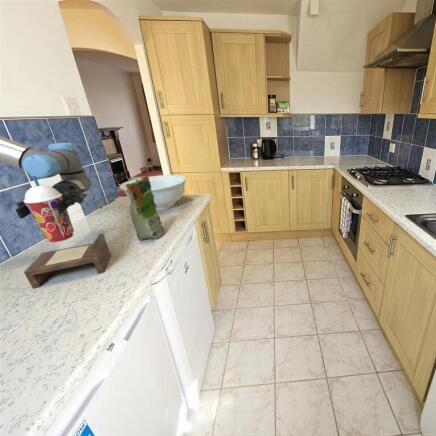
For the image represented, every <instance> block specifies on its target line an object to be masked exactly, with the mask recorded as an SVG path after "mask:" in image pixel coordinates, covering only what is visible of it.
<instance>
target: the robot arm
mask: <svg viewBox="0 0 436 436" xmlns="http://www.w3.org/2000/svg"><path fill="white" fill-rule="evenodd" d="M47 148H48V151H44V150H40V149H37V148H34V147H31V146H29V145H26V144H23V143H21V142H17V141H15V140H12V139H9V138H6V137H4V136H0V163H4V164H6V165H10V166H13V167H15V168H19V169H22V170H24V172H25V173H26V174H28V175H29V176H30V177H32V176H36V178H37V179H39V180H40V179H42V180H43V179H49V178H53V177H56V176H57V175H59V177H60V179H61V180H59V181H58V182H56V183H54V184H53V185H52V186H51V187H53V188H54V189H56V190H57V191H58V192H59V193H61V194H62V197H63V199H62V200H61V201H59V202H58V203H56V204H55V205H56V208H57V210H58V212H59V213H62V212H63V211H65V210H66V209H68V208H69V207H71V206H74V205H76V204H75V203H77V204H82V203H84V199H85V198H86V197H87V196H88V194H87V192H88V191H89V190H90V189H91V186H92V184H93V183H92V179H91V177H90V176H88V175H87V174H86V172H85V169H84V166H83V164H82V161H81V159H80V156H79V152H78V151H77V148H76V146H75V145H74V143H72V142H59V143H50V144H48V146H47ZM16 206H17V208H16V209H15V212H16V214H17V215H18V217H19V220H21V219H25V218H26V217H28V216H29V215H31V212H30V211H29V209H28V207H27V206H26V204H25V203H24V201H23V200H21V201H19V202H17V203H16Z"/></svg>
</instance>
